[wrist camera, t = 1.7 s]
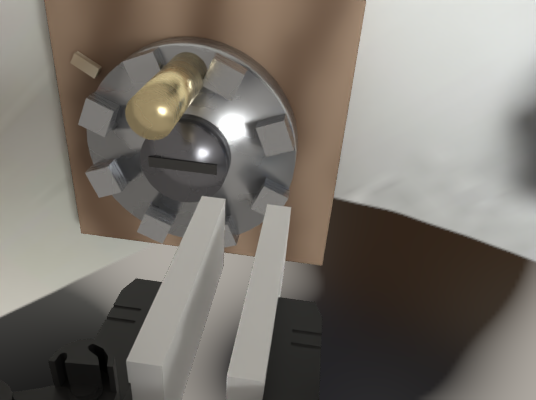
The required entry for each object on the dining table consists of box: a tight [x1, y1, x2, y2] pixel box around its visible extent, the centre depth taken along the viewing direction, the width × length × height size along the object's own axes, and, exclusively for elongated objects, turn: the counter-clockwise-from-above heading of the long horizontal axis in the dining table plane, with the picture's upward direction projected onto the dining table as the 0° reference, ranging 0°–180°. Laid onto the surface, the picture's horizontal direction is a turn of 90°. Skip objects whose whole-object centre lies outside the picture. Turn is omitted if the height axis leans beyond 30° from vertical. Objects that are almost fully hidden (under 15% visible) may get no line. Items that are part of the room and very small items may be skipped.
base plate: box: [44, 0, 366, 266], centre depth 36 cm, size 20×20×2 cm
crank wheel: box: [78, 37, 298, 248], centre depth 31 cm, size 14×14×10 cm
